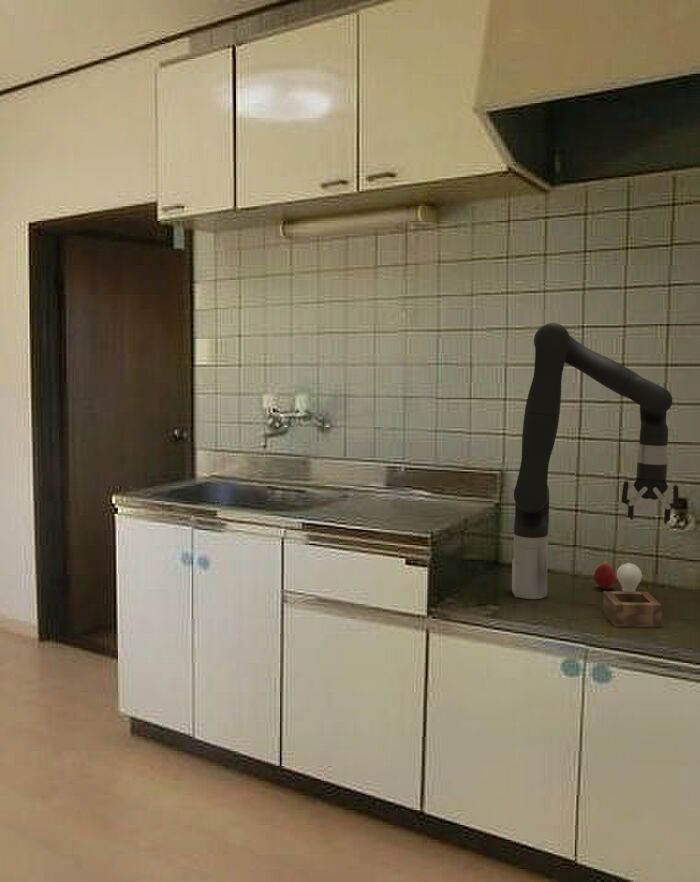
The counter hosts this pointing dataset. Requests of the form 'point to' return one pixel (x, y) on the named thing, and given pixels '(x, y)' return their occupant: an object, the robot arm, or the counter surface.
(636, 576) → the lightbulb
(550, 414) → the robot arm
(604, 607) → the socket block
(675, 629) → the counter surface
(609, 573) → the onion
